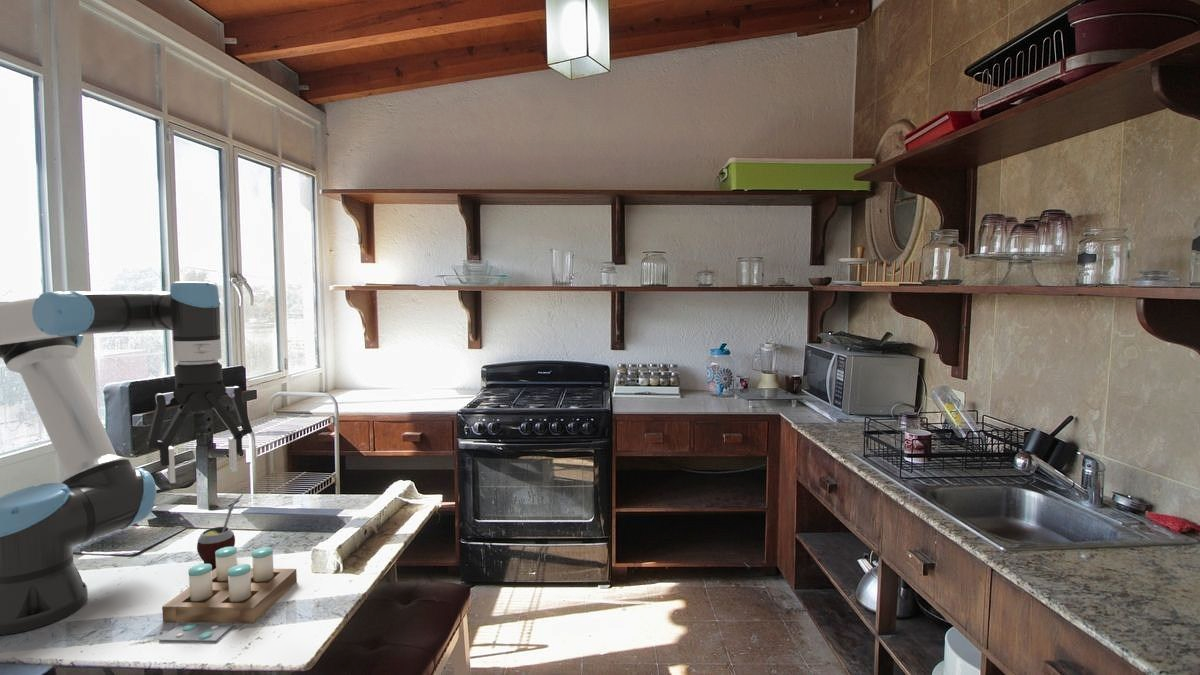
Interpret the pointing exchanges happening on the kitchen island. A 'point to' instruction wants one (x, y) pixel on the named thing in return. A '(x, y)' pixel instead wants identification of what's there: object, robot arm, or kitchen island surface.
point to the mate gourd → (216, 540)
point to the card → (197, 633)
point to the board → (226, 610)
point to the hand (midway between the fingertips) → (203, 475)
